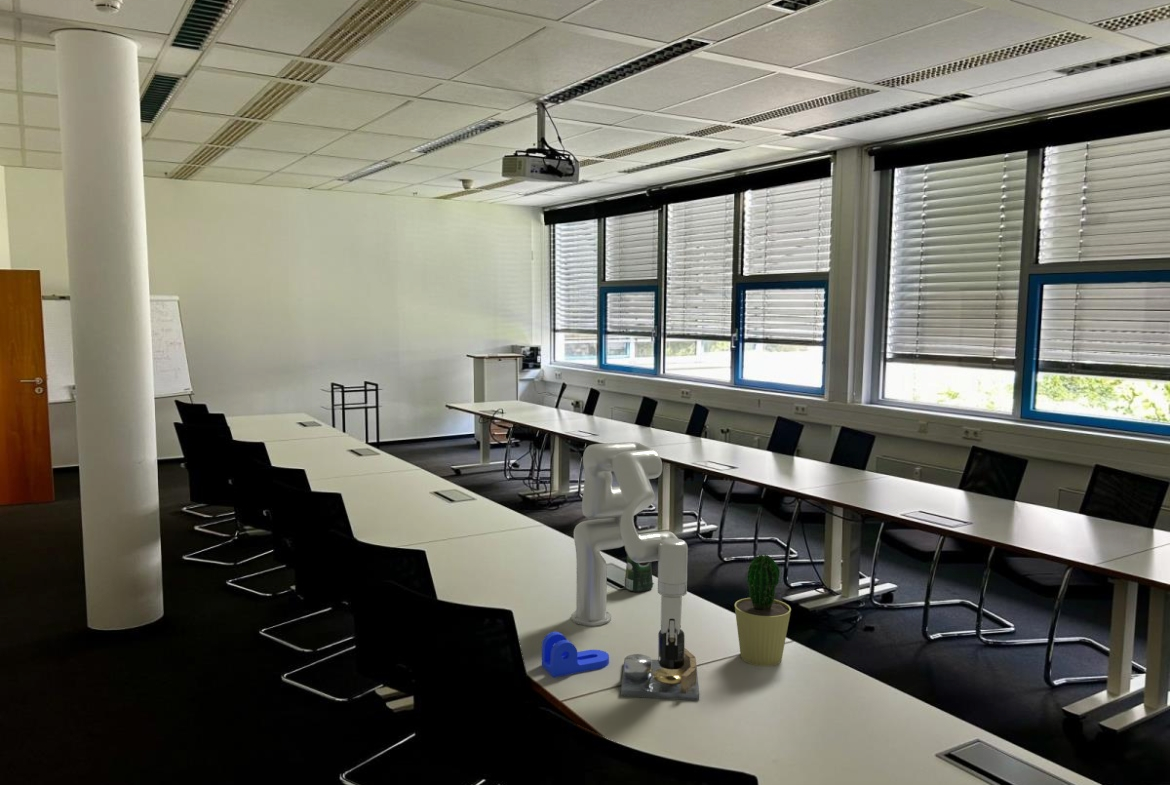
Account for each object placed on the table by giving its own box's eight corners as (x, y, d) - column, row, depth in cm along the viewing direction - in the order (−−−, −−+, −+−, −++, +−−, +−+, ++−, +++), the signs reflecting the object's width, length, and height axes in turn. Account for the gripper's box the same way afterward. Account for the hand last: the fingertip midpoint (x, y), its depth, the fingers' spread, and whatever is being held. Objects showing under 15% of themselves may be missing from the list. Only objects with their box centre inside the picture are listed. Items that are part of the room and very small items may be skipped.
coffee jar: (643, 583, 291) (644, 532, 289) (656, 589, 284) (656, 538, 282) (620, 587, 286) (621, 536, 285) (632, 594, 280) (633, 541, 278)
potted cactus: (748, 672, 218) (751, 563, 215) (724, 649, 233) (726, 547, 230) (799, 666, 222) (803, 559, 219) (772, 644, 237) (775, 544, 234)
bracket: (553, 677, 214) (553, 645, 213) (541, 665, 221) (541, 633, 221) (614, 666, 221) (614, 634, 221) (600, 654, 229) (601, 624, 228)
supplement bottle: (682, 659, 215) (683, 615, 214) (686, 670, 208) (687, 624, 207) (656, 659, 215) (657, 615, 214) (659, 670, 208) (660, 625, 207)
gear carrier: (624, 663, 223) (624, 644, 222) (695, 666, 221) (696, 647, 220) (621, 696, 203) (621, 675, 203) (699, 700, 202) (699, 678, 201)
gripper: (657, 576, 219) (656, 640, 220) (657, 597, 201) (656, 666, 203) (685, 577, 218) (684, 641, 219) (687, 598, 201) (686, 668, 202)
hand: (671, 653), depth 211 cm, fingers closed on supplement bottle, 6 cm apart
